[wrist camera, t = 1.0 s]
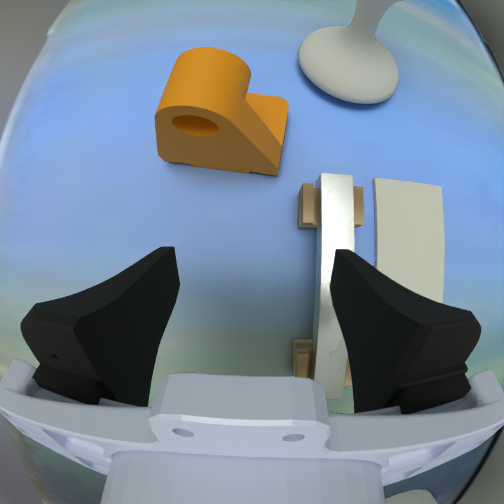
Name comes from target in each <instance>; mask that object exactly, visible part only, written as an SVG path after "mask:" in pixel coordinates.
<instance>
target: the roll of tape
mask: <svg viewBox="0 0 504 504" xmlns="http://www.w3.org/2000/svg"><path fill="white" fill-rule="evenodd" d="M385 504H437V502H436V501H435V499H434V497H433V496H432V494H431V493H430V492H429V491H427V490H421V489H418V490H411V491H407V492H403V493H400V494H397V495H394V496H392V497H389V498H387V499H385Z"/></svg>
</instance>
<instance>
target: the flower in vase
mask: <svg viewBox="0 0 504 504" xmlns="http://www.w3.org/2000/svg"><path fill="white" fill-rule="evenodd" d="M398 1H402V0H357V5H356V11H355V15H354V18H353V21H352V23H351V24H350V26H349V27H343V26H333V27H326V28H322V29H318V30H316V31H314V32H312V33H310V34H309V35H308V36H307V37H306V38H305V39H304V40H303V41H302V43H301V44H300V46H299V49H298V60H299V64H300V66H301V68H302V70H303V72H304V73H305V74H306V76H307V77H308V78H309V79H310V80H311V81H312V82H313V83H314V84H315V85H316V86H318V87H319V88H320V89H322V90H323V91H325V92H326V93H328V94H330V95H332V96H334V97H336V98H338V99H341V100H344V101H348V102H353V103H360V104H373V103H379V102H382V101H384V100H386V99H388V98H390V97H391V96H392V95H393V94H394V93H395V91H396V89H397V86H398V79H399V74H398V68H397V65H396V63H395V61H394V59H393V57H392V56H391V54H390V53H389V52H388V50H387V49H386V48H385V47H384V46H383V45H382V44H381V43H380V42H379V41H378V40H377V39H375V31H376V28H377V25H378V23H379V21H380V19H381V17H382V16H383V14H384V13H385V11H386V10H387V9H388V8H389V7H390V6H391V5H393V4H394V3H396V2H398Z"/></svg>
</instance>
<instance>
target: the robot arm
mask: <svg viewBox="0 0 504 504" xmlns="http://www.w3.org/2000/svg"><path fill="white" fill-rule="evenodd" d="M179 287H180V281H179V275H178V269H177V262H176V256H175V249H174V247H160V248H158V249H156V250H155V251H153V252H151V253H150V254H148V255H147V256H145V257H144V258H142V259H141V260H139V261H138V262H136V263H135V264H133V265H132V266H130V267H128V268H127V269H125V270H124V271H122V272H120V273H119V274H117V275H115V276H114V277H112V278H110V279H108V280H106V281H104V282H102V283H100V284H98V285H96V286H93V287H91V288H88V289H86V290H84V291H81V292H78V293H76V294H73V295H70V296H66V297H63V298H59V299H55V300H51V301H46V302H41V303H36V304H35V305H34V306H33V307H32V309H31V310H30V311H29V312H28V314H27V315H26V316H25V317H24V319H23V320H22V322H21V332H22V335H23V337H24V339H25V341H26V343H27V345H28V346H29V348H30V349H31V351H32V352H33V354H34V355H35V357H36V358H37V360H38V361H39V363H40V365H39V367H38V368H37V369H36V368H35V367H34V366H32V365H30V364H28V363H26V362H23V361H21V360H18V359H14V360H13V362H12V364H11V365H10V367H9V368H8V370H7V372H6V373H5V375H4V377H3V378H2V380H1V382H0V412H1V413H2V414H3V415H4V416H5V417H6V418H7V419H8V420H9V421H10V422H11V423H12V424H13V425H14V426H15V427H17V428H18V429H19V430H20V431H21V432H22V433H23V434H25V435H27V436H28V437H30V438H32V439H33V440H35V441H37V442H39V443H41V444H42V445H44V446H46V447H48V448H50V449H52V450H53V451H55V452H57V453H59V454H61V455H63V456H65V457H67V458H69V459H71V460H73V461H75V462H77V463H79V464H82V465H84V466H86V467H88V468H90V469H93V470H95V471H97V472H100V473H102V474H105V475H107V479H106V483H105V487H104V491H103V495H102V499H101V503H100V504H385V498H384V491H383V486H386V485H389V484H392V483H395V482H398V481H401V480H404V479H406V478H409V477H412V476H414V475H417V474H419V473H422V472H424V471H427V470H429V469H432V468H434V467H436V466H438V465H441V464H443V463H445V462H447V461H449V460H451V459H454V458H456V457H458V456H460V455H462V454H464V453H466V452H468V451H470V450H472V449H474V448H476V447H478V446H479V445H480V444H482V443H483V442H484V441H485V440H486V439H488V438H489V437H490V436H491V435H492V434H494V433H495V432H496V431H497V430H498V429H499V428H501V427H502V426H503V425H504V392H503V390H502V388H501V386H500V384H499V382H498V381H497V379H496V377H495V375H494V373H493V371H492V370H491V369H489V370H486V371H483V372H480V373H478V374H475V375H473V376H471V377H470V378H469V379H467V377H466V375H465V373H466V372H467V371H468V368H467V366H466V364H465V361H466V360H467V358H468V357H469V355H470V354H471V352H472V351H473V349H474V348H475V346H476V344H477V342H478V340H479V338H480V334H481V326H480V324H479V322H478V321H477V319H476V318H475V316H474V315H473V314H472V312H471V311H467V310H463V309H459V308H455V307H451V306H448V305H445V304H442V303H439V302H436V301H434V300H431V299H429V298H426V297H424V296H422V295H420V294H417V293H415V292H413V291H411V290H409V289H408V288H406V287H404V286H402V285H400V284H399V283H397V282H395V281H394V280H392V279H391V278H389V277H388V276H386V275H384V274H383V273H382V272H380V271H379V270H377V269H376V268H375V267H373V266H372V265H370V264H369V263H368V262H366V261H365V260H364V259H362V258H361V257H360V256H358V255H357V254H356V253H354V252H353V251H351V250H349V249H336V250H335V257H334V263H333V269H332V274H331V280H330V285H329V288H330V294H331V299H332V304H333V308H334V311H335V314H336V317H337V320H338V323H339V326H340V329H341V332H342V335H343V338H344V341H345V345H346V349H347V353H348V359H349V365H350V372H351V379H352V387H353V398H354V414H344V413H330V412H328V409H327V403H326V397H325V391H324V387H323V386H321V385H320V384H318V383H316V382H315V381H313V380H311V379H309V378H303V377H295V376H244V375H221V374H206V373H194V372H189V373H173V374H170V375H168V376H167V377H165V378H163V379H162V380H160V381H159V383H158V387H157V390H156V394H155V397H154V400H153V404H152V407H148V401H149V394H150V387H151V380H152V375H153V370H154V365H155V361H156V356H157V352H158V348H159V345H160V341H161V338H162V336H163V333H164V331H165V328H166V326H167V323H168V321H169V318H170V316H171V313H172V311H173V308H174V305H175V303H176V299H177V295H178V291H179Z"/></svg>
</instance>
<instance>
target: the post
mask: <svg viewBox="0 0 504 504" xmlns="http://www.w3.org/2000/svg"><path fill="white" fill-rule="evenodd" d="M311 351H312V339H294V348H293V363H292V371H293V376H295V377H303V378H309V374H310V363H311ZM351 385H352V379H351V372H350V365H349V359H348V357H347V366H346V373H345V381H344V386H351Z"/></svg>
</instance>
